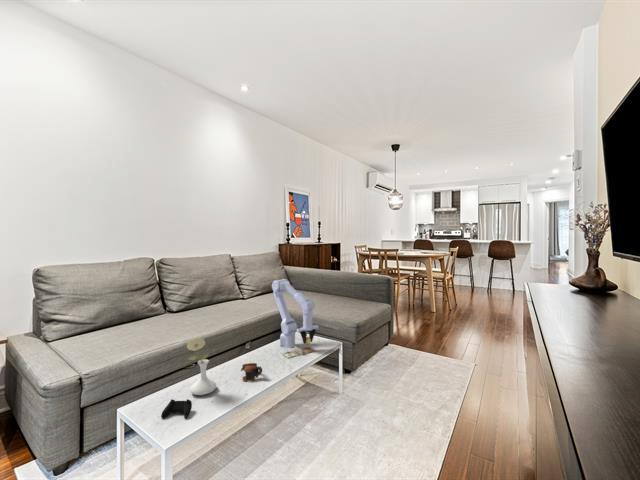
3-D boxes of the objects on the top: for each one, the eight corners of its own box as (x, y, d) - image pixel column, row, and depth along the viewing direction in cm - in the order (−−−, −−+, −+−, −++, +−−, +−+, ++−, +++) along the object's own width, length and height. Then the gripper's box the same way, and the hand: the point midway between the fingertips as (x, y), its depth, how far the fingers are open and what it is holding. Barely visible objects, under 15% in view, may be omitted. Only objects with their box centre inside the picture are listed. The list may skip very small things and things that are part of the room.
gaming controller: (190, 420, 122) (195, 401, 127) (187, 417, 119) (192, 398, 124) (163, 420, 122) (169, 401, 127) (159, 417, 118) (165, 397, 123)
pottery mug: (236, 382, 150) (237, 364, 154) (246, 383, 158) (246, 366, 162) (258, 379, 147) (258, 361, 151) (267, 379, 155) (267, 362, 159)
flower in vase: (218, 384, 147) (218, 332, 146) (214, 396, 135) (214, 341, 135) (189, 386, 144) (189, 334, 144) (183, 399, 133) (183, 342, 133)
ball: (303, 344, 186) (304, 338, 185) (304, 342, 190) (305, 336, 189) (310, 345, 185) (310, 338, 185) (311, 342, 189) (311, 336, 189)
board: (287, 360, 175) (287, 354, 175) (280, 355, 182) (280, 349, 182) (316, 353, 186) (316, 347, 186) (308, 348, 194) (308, 343, 194)
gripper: (300, 323, 180) (300, 346, 180) (321, 320, 188) (320, 342, 188) (295, 321, 186) (294, 343, 186) (314, 317, 194) (314, 338, 194)
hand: (307, 342), depth 187 cm, fingers closed on ball, 4 cm apart
